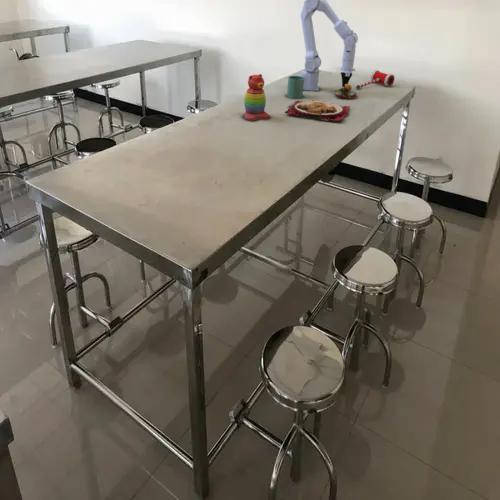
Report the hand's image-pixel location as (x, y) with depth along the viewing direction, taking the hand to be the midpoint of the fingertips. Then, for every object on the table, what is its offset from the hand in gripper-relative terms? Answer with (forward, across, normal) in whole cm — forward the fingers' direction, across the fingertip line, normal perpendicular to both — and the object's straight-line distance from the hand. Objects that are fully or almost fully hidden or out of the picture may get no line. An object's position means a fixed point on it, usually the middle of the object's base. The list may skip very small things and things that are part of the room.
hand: (344, 87), depth 248 cm
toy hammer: (+3, +18, -18) cm, 26 cm away
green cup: (+3, -11, +25) cm, 27 cm away
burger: (+3, -5, 0) cm, 6 cm away
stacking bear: (+3, -46, +42) cm, 62 cm away
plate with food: (+3, -34, +14) cm, 37 cm away
